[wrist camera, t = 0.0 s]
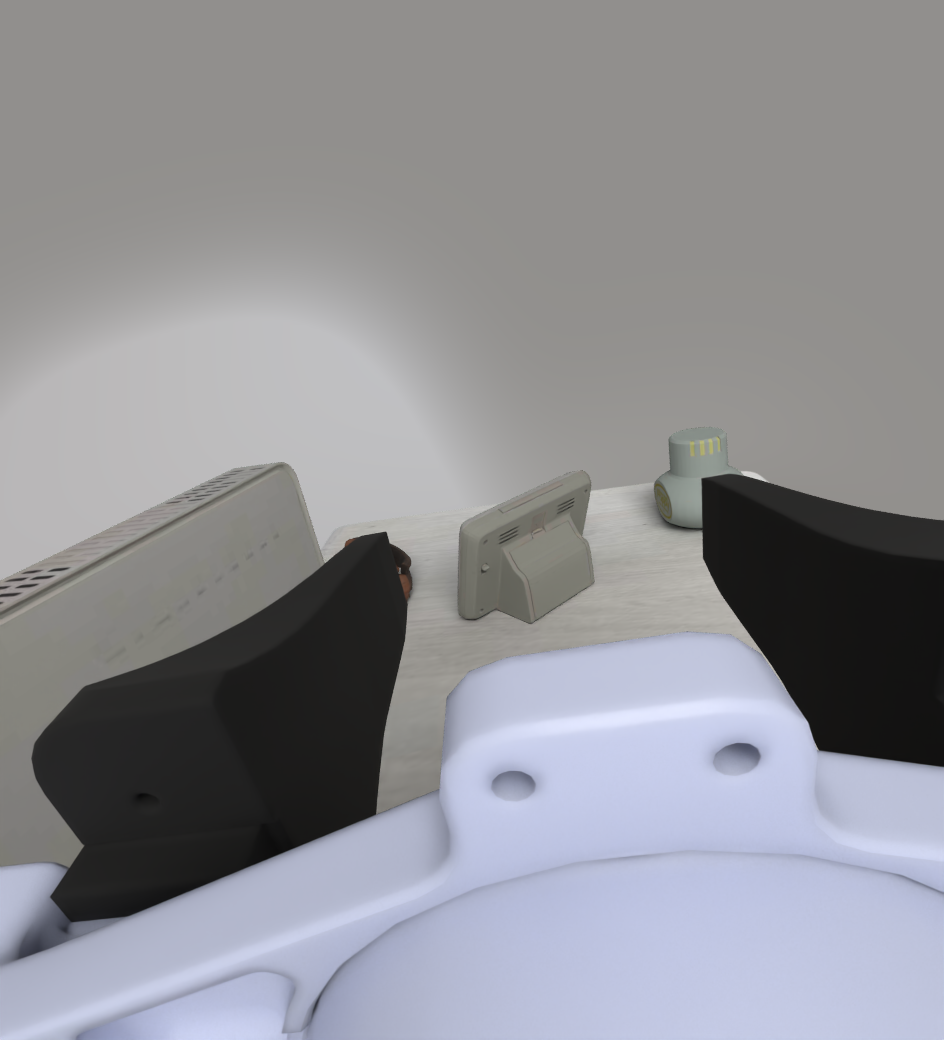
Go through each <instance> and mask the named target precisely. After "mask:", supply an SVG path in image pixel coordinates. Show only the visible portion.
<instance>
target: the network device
mask: <svg viewBox="0 0 944 1040" xmlns="http://www.w3.org/2000/svg"><path fill="white" fill-rule="evenodd" d="M323 565H324V560H323V557H322V554H321V551H320V548H319V545H318V541H317V538H316V535H315V532H314V529H313V526H312V523H311V520H310V516H309V513H308V510H307V506H306V503H305V500H304V497H303V494H302V491H301V488H300V484H299V481H298V478H297V475H296V473H295V472H294V470H293V469H292V468H291V466H289V465H288V464H286V463H284V462H278V463H271V464H264V465H257V466H249V467H241V468H235V469H232V470H230V471H228V472H225V473H223V474H221V475H219V476H217V477H215V478H213V479H211V480H209V481H207V482H205V483H203V484H200V485H199V486H196V487H194V488H192V489H190V490H188V491H186V492H184V493H182V494H180V495H178V496H175V497H173V498H171V499H169V500H168V501H165V502H163V503H161V504H159V505H157V506H155V507H153V508H151V509H149V510H146V511H144V512H142V513H140V514H138V515H136V516H134V517H132V518H130V519H128V520H126V521H124V522H121V523H119V524H117V525H115V526H113V527H111V528H109V529H107V530H105V531H103V532H101V533H99V534H96V535H94V536H92V537H90V538H88V539H86V540H84V541H82V542H80V543H78V544H76V545H74V546H72V547H69V548H67V549H66V550H63V551H61V552H59V553H57V554H55V555H53V556H51V557H49V558H46V559H44V560H42V561H40V562H38V563H36V564H34V565H32V566H30V567H28V568H26V569H24V570H22V571H19V572H17V573H16V574H13V575H11V576H9V577H7V578H5V579H3V580H1V581H0V866H8V865H17V864H26V863H34V862H43V861H46V862H57V863H59V864H62V865H65V866H67V867H68V868H70V866H71V865H72V863H73V862H74V860H75V859H76V857H77V856H78V854H79V853H80V851H81V850H82V848H83V847H84V845H83V844H82V843H81V842H80V841H79V839H78V838H77V837H76V835H75V834H74V833H73V831H72V830H71V829H70V827H69V826H68V825H67V823H66V822H65V821H64V819H63V818H62V817H61V815H60V814H59V813H58V812H57V810H56V809H55V808H54V806H53V805H52V804H51V802H50V801H49V800H48V798H47V797H46V796H45V794H44V793H43V791H42V789H41V787H40V786H39V784H38V782H37V780H36V778H35V775H34V770H33V765H32V760H31V757H32V752H33V748H34V743H35V742H36V740H37V739H38V738H39V736H40V735H41V734H42V732H43V731H44V730H45V728H46V727H47V726H48V725H49V724H50V723H51V722H52V721H53V720H54V719H55V717H56V716H57V715H58V714H59V713H60V712H61V711H62V710H63V709H64V708H65V707H66V705H67V704H68V703H69V702H70V701H71V700H72V699H73V698H74V697H75V696H76V695H77V693H78V692H79V691H80V690H81V689H82V688H83V687H84V686H86V685H89V684H93V683H96V682H99V681H102V680H105V679H108V678H111V677H114V676H117V675H120V674H123V673H126V672H129V671H132V670H135V669H138V668H141V667H144V666H146V665H149V664H152V663H154V662H157V661H159V660H162V659H164V658H167V657H169V656H172V655H174V654H177V653H179V652H181V651H184V650H186V649H188V648H191V647H193V646H195V645H197V644H200V643H202V642H204V641H206V640H208V639H210V638H212V637H214V636H216V635H218V634H219V633H221V632H223V631H225V630H227V629H229V628H231V627H233V626H235V625H237V624H239V623H241V622H243V621H244V620H246V619H248V618H249V617H251V616H253V615H254V614H256V613H258V612H259V611H261V610H263V609H264V608H266V607H267V606H269V605H270V604H272V603H273V602H275V601H276V600H278V599H279V598H281V597H282V596H284V595H285V594H286V593H288V592H289V591H290V590H292V589H293V588H294V587H296V586H297V585H298V584H300V583H301V582H302V581H304V580H305V579H306V578H308V577H309V576H310V575H312V574H313V573H314V572H315V571H317V570H318V569H319V568H320V567H321V566H323Z"/></svg>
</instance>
